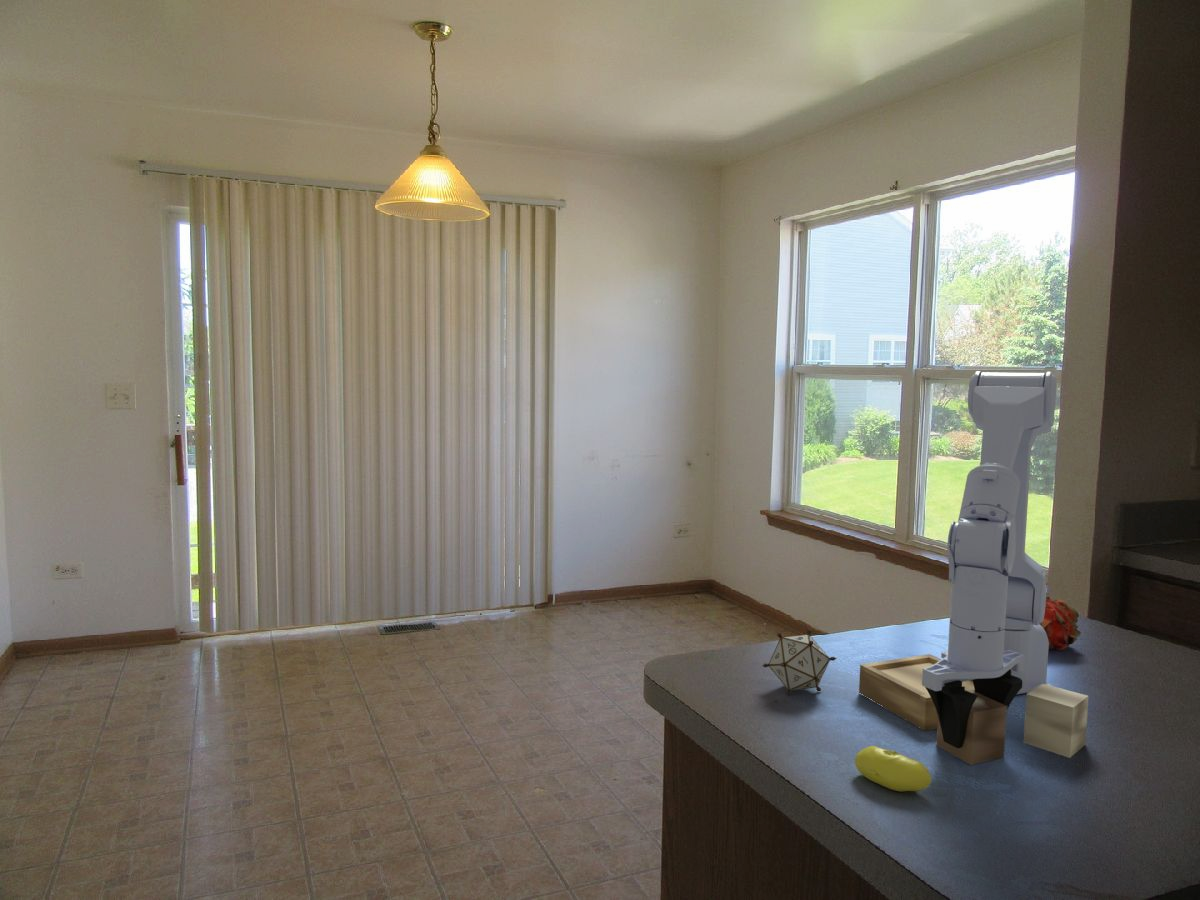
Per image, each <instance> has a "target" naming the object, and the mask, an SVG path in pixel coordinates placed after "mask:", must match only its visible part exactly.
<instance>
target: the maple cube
mask: <svg viewBox="0 0 1200 900" xmlns="http://www.w3.org/2000/svg"><path fill="white" fill-rule="evenodd" d="M1025 696H1026V697H1025V711H1024V726H1023V727H1024V728H1023V742H1022V743H1023V744H1027V745H1030V746H1032V747H1035V748H1039V749H1042V750H1044V751H1048V752H1050V751H1051V753H1053V752H1054V753H1053V754H1056V755H1060V756H1062V757H1066V758H1069V759H1071V758H1072V757H1073V756H1074V755H1075V754H1076V753H1077V752H1079V751H1080V750H1081V749H1082V748H1083V747H1085V746H1086V740H1087V739H1086V737H1087V736H1086V735H1087V724H1088V723H1087V722H1088V712H1089V708H1088V707H1089V695H1087V694H1082V693H1079V692H1075V691H1072V690H1068V689H1064V688H1062V687H1061V688H1060V687H1057V686H1053V685H1052V686H1050V685H1047V684H1041V685H1040V686H1038V687H1036V688H1035V689H1033V690H1032V691H1030V692H1028V693H1025ZM1078 750H1079V751H1078Z"/></svg>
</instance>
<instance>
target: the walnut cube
mask: <svg viewBox="0 0 1200 900" xmlns="http://www.w3.org/2000/svg"><path fill="white" fill-rule="evenodd" d="M968 692H971V693H973V694H976V695H977V696H978V697H977V698H976V700H975V702H974V703H973V706H972V708H971V710H970V713H969V717H968V721H967V727H966V735H965V740H964V744H963V746H962V747H961V748H956V747H954V746H952V745H950V744H948V743H946V742H944V740H943V735H942V730H941V726H940V721H939V717H938V726H937V728H936V746H937V747H938V748H940V749H942V750H944V751H945V750H946V751H945V752H947V751H948V753H949V754H951V755H952V754H953V756H955V757H956V758H958V759H960V760H961V759H962V760H961V761H963V762H965V763H967V764H968V765H970V766H972V765H975V764H980V762H981V763H985V762H989V761H992V760H996V759H997V760H998V759H1001V758H1005V745H1006V743H1005V742H1006V730H1007V729H1006V728H1007V715H1008V714H1007V712H1008V709H1007V706H1006V705H1003V704H1001V703H999V702H997V701H995V700H992V699H990V698H988V697H986V696H984V695H981V694H979V693H977V692H975V691H973V690H968ZM971 764H972V765H971Z"/></svg>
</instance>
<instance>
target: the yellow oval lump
mask: <svg viewBox="0 0 1200 900" xmlns="http://www.w3.org/2000/svg"><path fill="white" fill-rule="evenodd" d="M854 764H855V767H856V769H857V771H858V772H859V773H860V774H861V775H862V776H863V777H865V778H866V779H868V780H869V781H871V782H873V783H876V784H878V785H880V786H882V787H885V788H887V789H890V790H892V791H896V792H900V793H901V792H902V793H904V792H919V791H923V790H925V789H927V788H928V787H929V786H930V785H931V783H932V776H931V773H930V772H929V770H928V768H927V767H926V766H925V765H924V764H923V763H922V762H920V761H918V760H915V759H912V758H909V757H908V756H906V755H903V754H900V753H898V752H896V751H895V750H892V749H891V750H888V749H884V748H881V747H879V746H876V745H870V746H867V747H864V748H863V749H862V750H859V752H858V753H857V754H856V755H855V757H854Z"/></svg>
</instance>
